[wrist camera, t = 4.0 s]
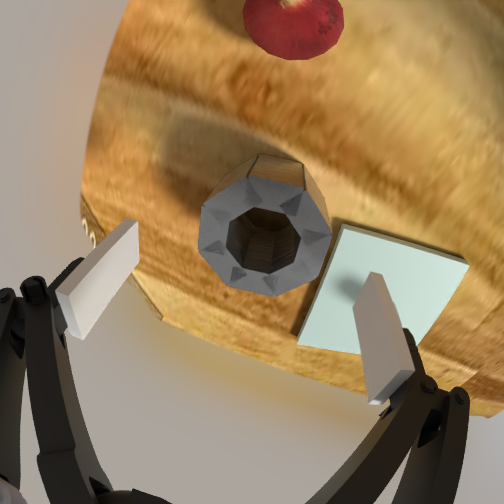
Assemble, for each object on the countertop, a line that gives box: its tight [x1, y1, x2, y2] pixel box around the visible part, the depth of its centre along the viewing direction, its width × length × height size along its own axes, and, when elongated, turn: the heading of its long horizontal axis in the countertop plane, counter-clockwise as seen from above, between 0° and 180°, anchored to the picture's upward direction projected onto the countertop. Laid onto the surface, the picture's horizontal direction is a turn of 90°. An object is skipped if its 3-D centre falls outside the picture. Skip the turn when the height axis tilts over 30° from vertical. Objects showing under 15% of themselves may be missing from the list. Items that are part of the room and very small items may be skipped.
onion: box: [243, 0, 344, 60], centre depth 12 cm, size 6×6×8 cm
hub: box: [198, 154, 333, 297], centre depth 20 cm, size 8×8×6 cm
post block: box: [297, 223, 470, 354], centre depth 23 cm, size 14×14×6 cm
